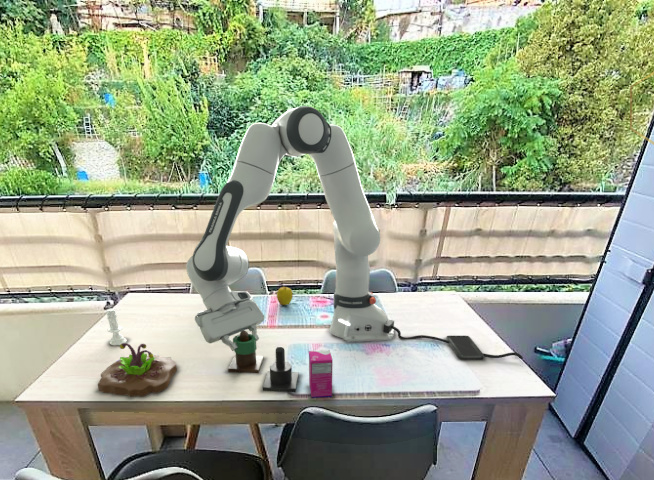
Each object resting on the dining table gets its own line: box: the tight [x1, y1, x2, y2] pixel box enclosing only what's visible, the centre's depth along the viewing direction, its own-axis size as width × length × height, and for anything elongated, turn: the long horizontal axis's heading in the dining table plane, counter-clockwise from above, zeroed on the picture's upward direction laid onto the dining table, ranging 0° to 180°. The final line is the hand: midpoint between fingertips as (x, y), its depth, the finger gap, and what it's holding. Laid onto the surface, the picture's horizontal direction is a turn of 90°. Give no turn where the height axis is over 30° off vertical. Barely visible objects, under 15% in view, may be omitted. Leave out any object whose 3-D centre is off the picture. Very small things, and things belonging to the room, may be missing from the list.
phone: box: [445, 335, 485, 360], centre depth 135 cm, size 8×1×15 cm
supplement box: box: [308, 349, 334, 399], centre depth 110 cm, size 6×6×12 cm
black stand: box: [261, 345, 300, 393], centre depth 114 cm, size 9×9×11 cm
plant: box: [97, 342, 178, 398], centre depth 116 cm, size 20×20×11 cm
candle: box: [105, 308, 128, 346], centre depth 136 cm, size 5×5×12 cm
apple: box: [276, 286, 294, 306], centre depth 167 cm, size 6×6×8 cm
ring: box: [232, 333, 258, 355], centre depth 122 cm, size 6×6×4 cm
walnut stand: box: [227, 330, 265, 374], centre depth 123 cm, size 9×9×11 cm
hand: (246, 344), depth 122 cm, fingers closed on ring, 6 cm apart
